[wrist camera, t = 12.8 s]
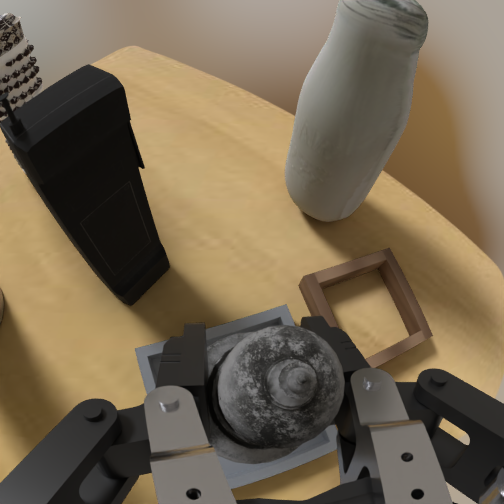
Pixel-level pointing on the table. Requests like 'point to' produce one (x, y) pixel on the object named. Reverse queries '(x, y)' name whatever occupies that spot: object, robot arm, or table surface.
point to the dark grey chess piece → (271, 392)
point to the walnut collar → (396, 286)
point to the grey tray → (233, 471)
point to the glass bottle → (354, 105)
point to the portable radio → (91, 176)
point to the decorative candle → (16, 67)
